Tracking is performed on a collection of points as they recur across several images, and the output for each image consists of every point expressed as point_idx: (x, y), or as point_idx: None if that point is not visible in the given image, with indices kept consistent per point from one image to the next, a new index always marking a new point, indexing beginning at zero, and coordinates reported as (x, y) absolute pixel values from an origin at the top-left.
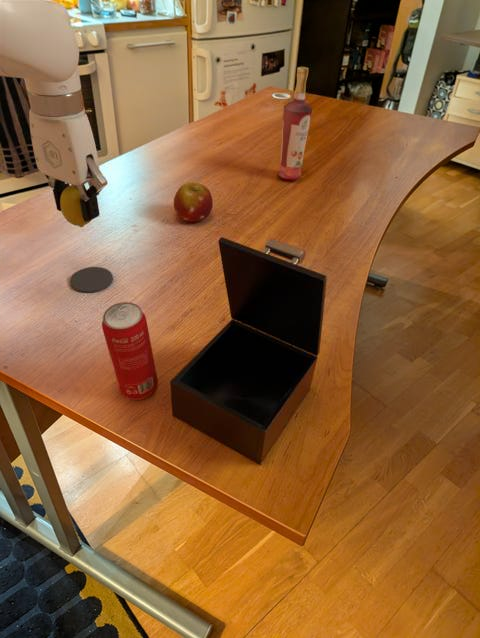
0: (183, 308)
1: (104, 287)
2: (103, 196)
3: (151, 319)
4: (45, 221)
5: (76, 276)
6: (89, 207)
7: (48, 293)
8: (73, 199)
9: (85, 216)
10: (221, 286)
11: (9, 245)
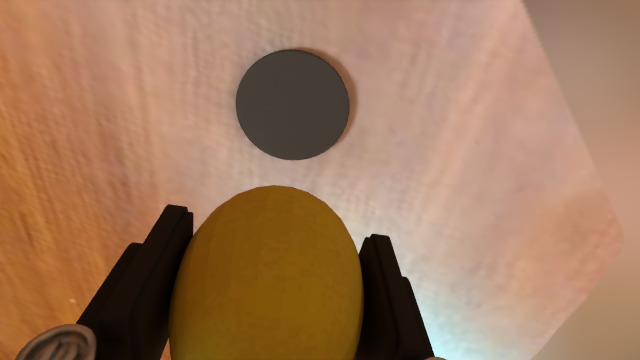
0: (7, 101)
1: (237, 91)
2: (442, 349)
3: (30, 21)
4: (524, 254)
5: (334, 102)
6: (106, 286)
7: (369, 5)
8: (207, 312)
9: (157, 226)
10: (14, 207)
11: (575, 151)
